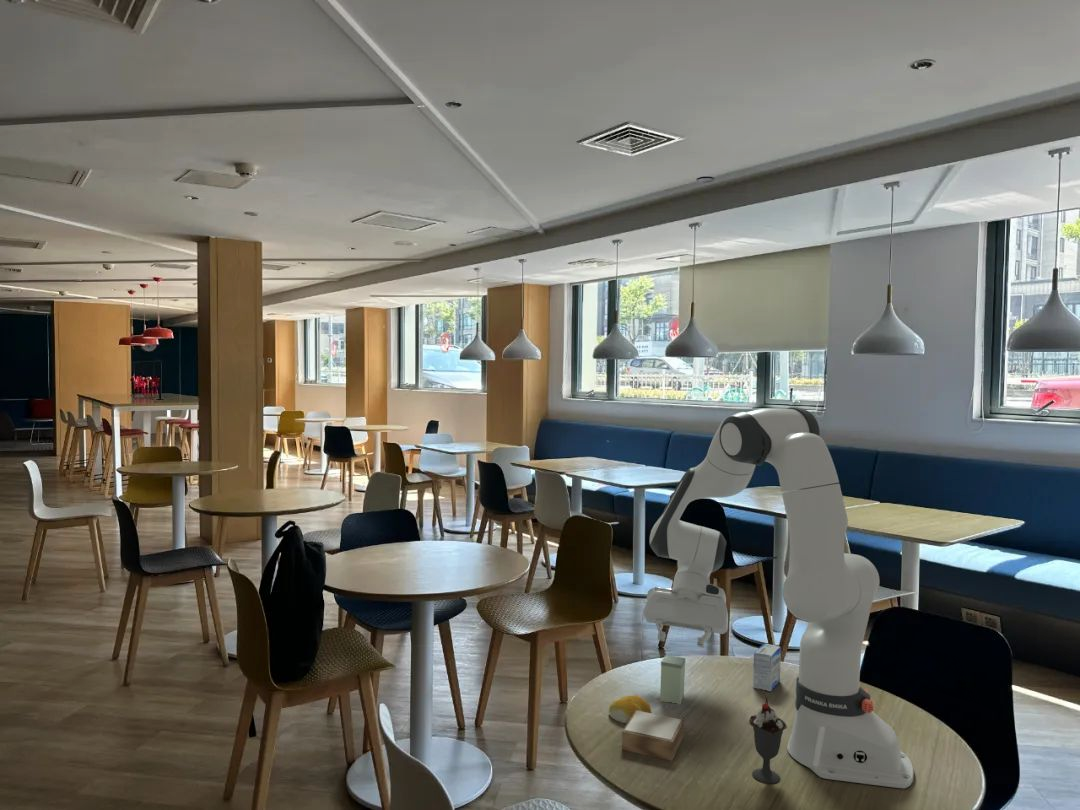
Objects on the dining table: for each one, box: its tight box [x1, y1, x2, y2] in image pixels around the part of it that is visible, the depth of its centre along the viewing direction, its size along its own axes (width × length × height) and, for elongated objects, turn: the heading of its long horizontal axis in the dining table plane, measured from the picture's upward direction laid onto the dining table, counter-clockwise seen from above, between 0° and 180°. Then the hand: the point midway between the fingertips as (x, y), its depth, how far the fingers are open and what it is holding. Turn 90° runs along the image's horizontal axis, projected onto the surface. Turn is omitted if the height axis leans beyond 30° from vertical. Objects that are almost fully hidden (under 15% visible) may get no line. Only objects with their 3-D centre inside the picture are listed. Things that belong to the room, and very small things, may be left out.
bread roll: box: [608, 695, 652, 725], centre depth 159 cm, size 8×9×4 cm
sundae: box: [748, 691, 788, 785], centre depth 135 cm, size 7×7×15 cm
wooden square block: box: [621, 710, 684, 761], centre depth 147 cm, size 10×10×4 cm
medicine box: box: [752, 643, 782, 692], centre depth 176 cm, size 8×4×9 cm, turn 147°
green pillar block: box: [659, 654, 686, 705], centre depth 167 cm, size 5×5×9 cm
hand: (680, 643), depth 173 cm, fingers open, 8 cm apart
